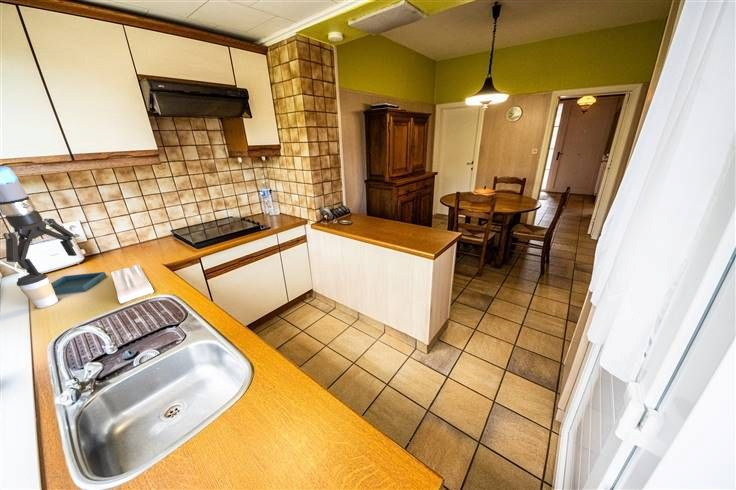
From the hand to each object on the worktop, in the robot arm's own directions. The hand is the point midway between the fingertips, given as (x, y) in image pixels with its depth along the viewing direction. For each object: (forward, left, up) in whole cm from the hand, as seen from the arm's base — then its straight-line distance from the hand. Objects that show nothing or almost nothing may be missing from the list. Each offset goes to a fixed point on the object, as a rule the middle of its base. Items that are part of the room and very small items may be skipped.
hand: (55, 264), depth 102 cm
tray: (-27, +31, -25) cm, 48 cm away
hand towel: (+3, +25, -25) cm, 36 cm away
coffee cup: (-27, +16, -25) cm, 40 cm away
